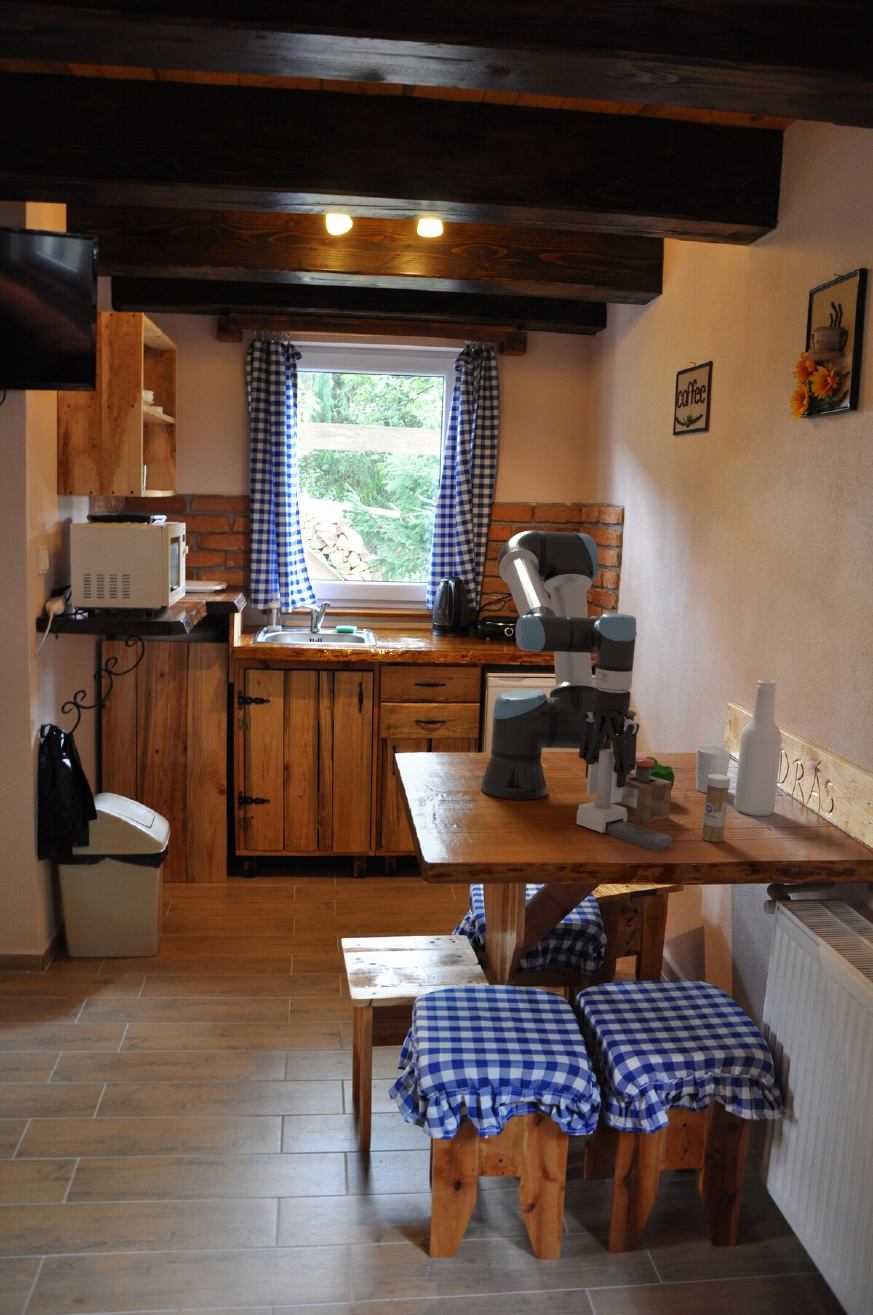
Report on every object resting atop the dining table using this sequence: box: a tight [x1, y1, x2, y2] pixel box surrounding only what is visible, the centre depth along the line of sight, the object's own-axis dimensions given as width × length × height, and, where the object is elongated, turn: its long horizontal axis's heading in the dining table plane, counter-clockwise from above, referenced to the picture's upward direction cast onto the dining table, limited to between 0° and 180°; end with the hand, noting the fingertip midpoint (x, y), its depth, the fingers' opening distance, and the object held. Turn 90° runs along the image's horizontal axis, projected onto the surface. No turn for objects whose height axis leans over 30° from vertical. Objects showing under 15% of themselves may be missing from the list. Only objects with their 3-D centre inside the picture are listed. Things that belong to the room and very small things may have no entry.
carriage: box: [576, 748, 628, 834], centre depth 224 cm, size 7×8×16 cm
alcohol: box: [733, 679, 783, 817], centre depth 241 cm, size 9×9×30 cm
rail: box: [603, 819, 673, 852], centre depth 221 cm, size 20×5×2 cm, turn 41°
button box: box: [612, 772, 673, 825], centre depth 235 cm, size 9×9×8 cm
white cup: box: [695, 745, 732, 794], centre depth 259 cm, size 8×8×10 cm
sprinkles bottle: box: [701, 774, 731, 843], centre depth 220 cm, size 5×5×14 cm
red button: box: [635, 757, 655, 784], centre depth 234 cm, size 4×4×8 cm
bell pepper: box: [645, 756, 675, 792], centre depth 248 cm, size 8×8×10 cm
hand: (603, 797), depth 225 cm, fingers open, 6 cm apart
